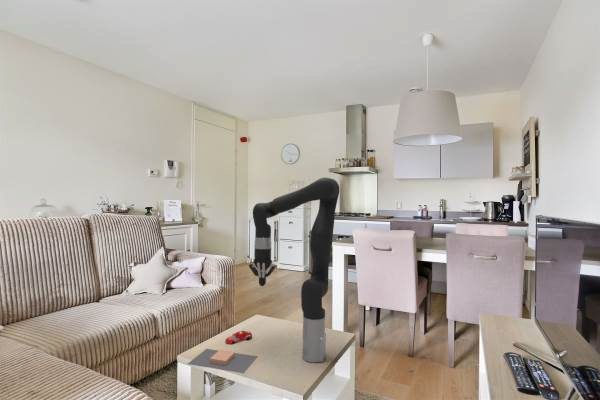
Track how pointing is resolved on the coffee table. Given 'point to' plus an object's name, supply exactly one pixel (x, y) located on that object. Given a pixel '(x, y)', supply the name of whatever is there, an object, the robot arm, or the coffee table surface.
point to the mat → (236, 365)
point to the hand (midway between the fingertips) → (262, 285)
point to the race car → (239, 337)
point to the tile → (222, 357)
